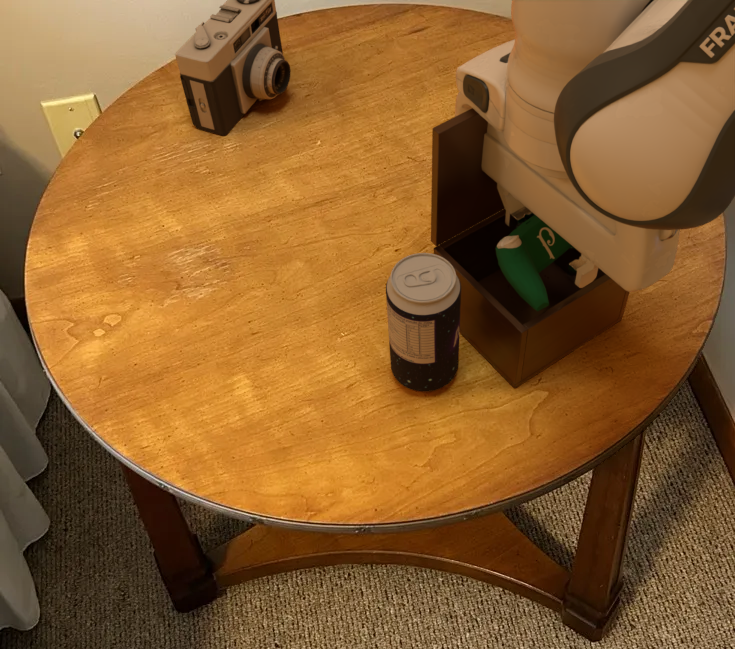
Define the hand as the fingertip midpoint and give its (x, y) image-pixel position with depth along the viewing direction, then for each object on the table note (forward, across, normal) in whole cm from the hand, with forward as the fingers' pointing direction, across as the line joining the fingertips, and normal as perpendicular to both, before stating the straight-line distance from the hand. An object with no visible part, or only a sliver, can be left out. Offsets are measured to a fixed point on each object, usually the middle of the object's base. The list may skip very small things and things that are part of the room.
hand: (548, 251), depth 69 cm
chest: (+9, +2, 0) cm, 9 cm away
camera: (+9, +44, +4) cm, 45 cm away
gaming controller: (+2, 0, 0) cm, 2 cm away
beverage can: (+9, +2, +11) cm, 15 cm away
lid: (-5, +7, 0) cm, 8 cm away
